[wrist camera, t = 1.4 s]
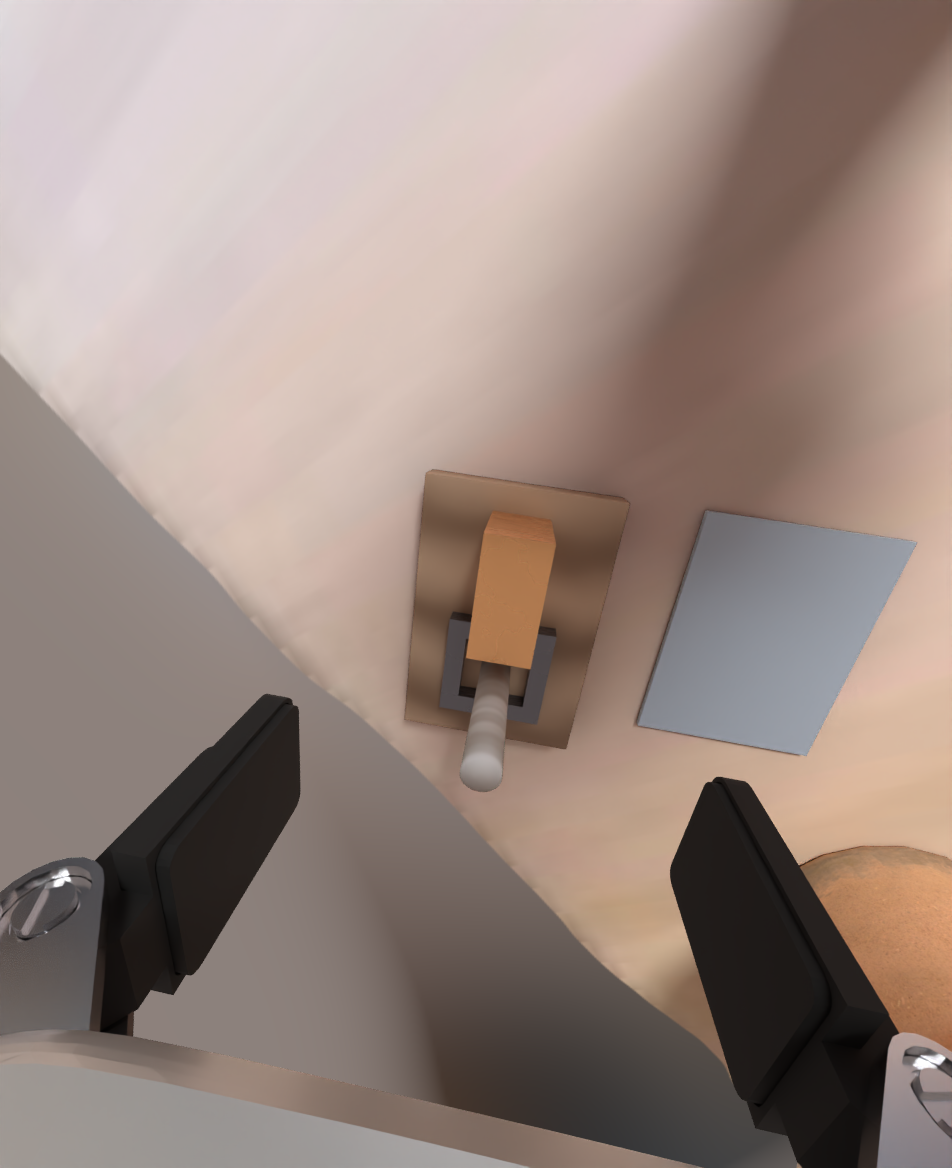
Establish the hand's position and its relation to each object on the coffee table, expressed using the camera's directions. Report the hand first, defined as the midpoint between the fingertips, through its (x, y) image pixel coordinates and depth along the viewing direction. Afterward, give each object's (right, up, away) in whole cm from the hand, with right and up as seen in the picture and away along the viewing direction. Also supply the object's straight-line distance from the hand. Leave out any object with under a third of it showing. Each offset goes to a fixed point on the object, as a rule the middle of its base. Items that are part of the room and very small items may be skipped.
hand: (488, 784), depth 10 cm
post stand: (+2, +3, +21) cm, 21 cm away
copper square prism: (+2, +2, +19) cm, 19 cm away
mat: (+19, +1, +19) cm, 27 cm away
